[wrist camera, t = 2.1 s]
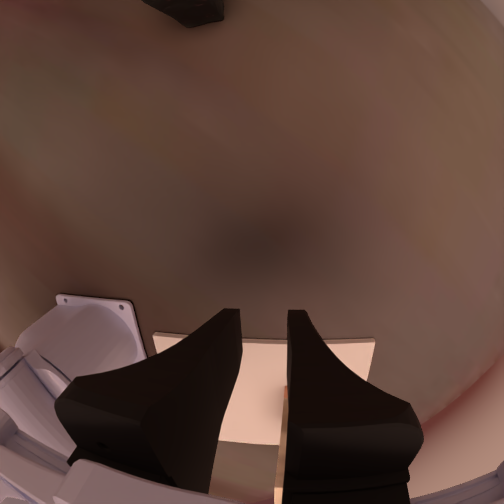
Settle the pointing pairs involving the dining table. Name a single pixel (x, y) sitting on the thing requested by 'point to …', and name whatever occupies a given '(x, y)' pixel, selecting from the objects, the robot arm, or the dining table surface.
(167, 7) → the green elephant figurine
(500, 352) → the dining table surface
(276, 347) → the beige mat
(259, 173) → the dining table surface
